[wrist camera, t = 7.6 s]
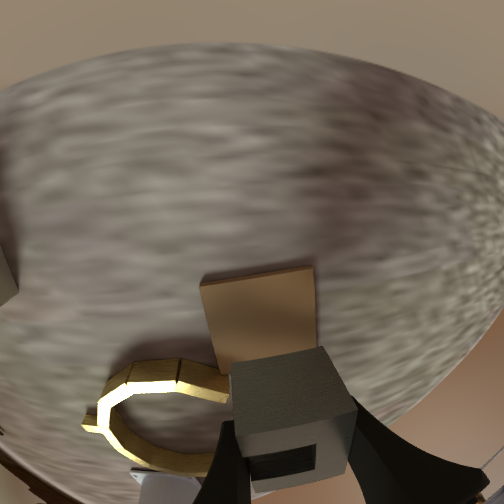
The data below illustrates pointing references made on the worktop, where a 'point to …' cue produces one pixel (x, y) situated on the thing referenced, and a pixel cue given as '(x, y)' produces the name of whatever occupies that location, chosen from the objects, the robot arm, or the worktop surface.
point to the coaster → (260, 315)
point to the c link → (292, 418)
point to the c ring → (151, 381)
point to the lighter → (6, 281)
